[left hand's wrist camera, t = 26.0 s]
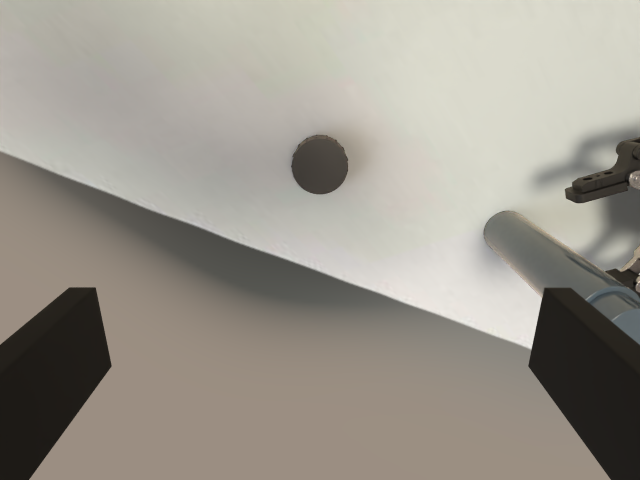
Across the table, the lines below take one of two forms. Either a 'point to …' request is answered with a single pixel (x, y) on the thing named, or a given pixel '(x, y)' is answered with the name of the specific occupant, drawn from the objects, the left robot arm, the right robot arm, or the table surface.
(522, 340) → the table surface
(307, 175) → the lid
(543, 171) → the table surface
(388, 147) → the table surface
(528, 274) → the bottle
